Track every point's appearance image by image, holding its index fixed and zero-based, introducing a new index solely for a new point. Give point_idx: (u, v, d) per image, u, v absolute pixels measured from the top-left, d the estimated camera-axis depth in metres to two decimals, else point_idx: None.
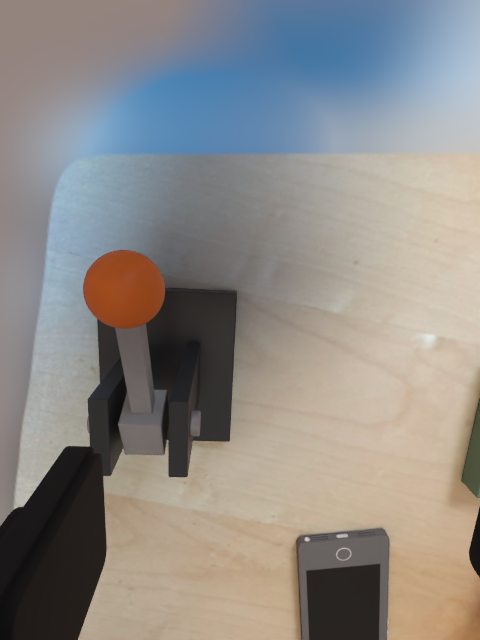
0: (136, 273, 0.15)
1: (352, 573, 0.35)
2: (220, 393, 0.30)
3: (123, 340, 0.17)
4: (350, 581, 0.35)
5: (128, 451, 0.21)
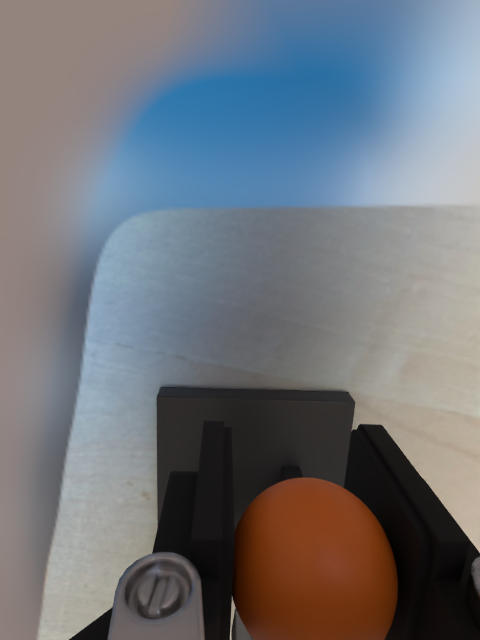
0: (372, 583, 0.06)
1: None
2: None
3: None
4: None
5: None
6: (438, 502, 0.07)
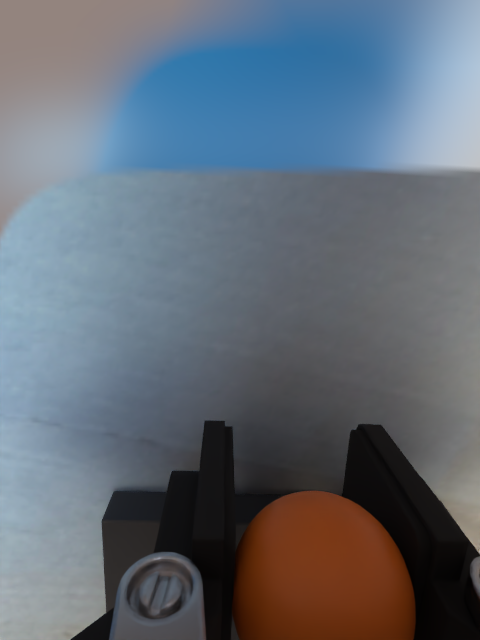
0: (367, 521, 0.07)
1: None
2: None
3: None
4: None
5: None
6: (437, 502, 0.07)
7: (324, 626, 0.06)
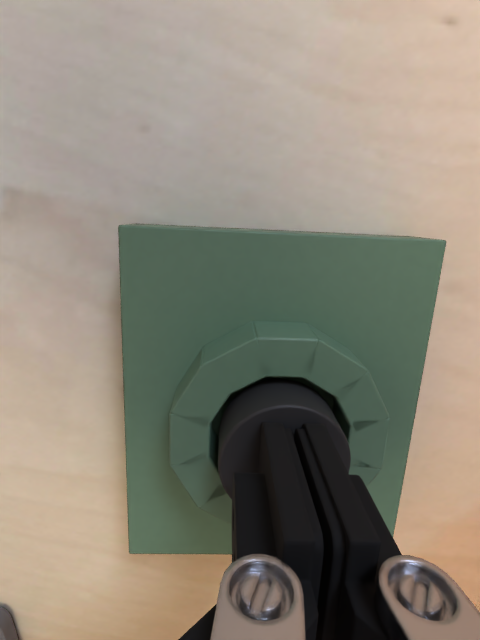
0: None
1: None
2: None
3: None
4: None
5: None
6: (360, 502, 0.07)
7: None
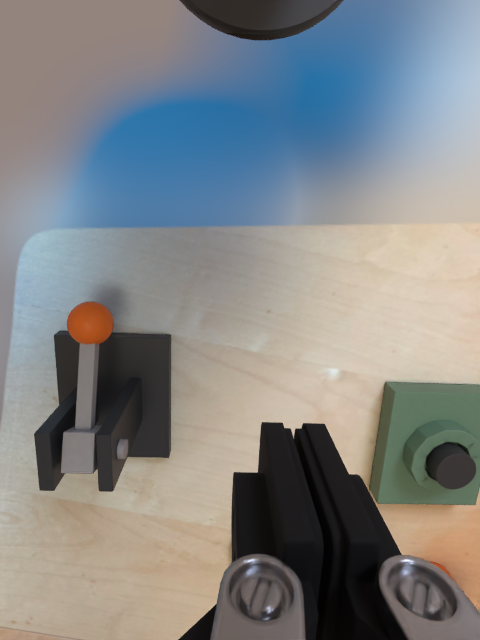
0: (98, 306, 0.28)
1: None
2: (159, 418, 0.36)
3: (82, 356, 0.28)
4: None
5: (64, 468, 0.27)
6: (360, 502, 0.07)
7: (79, 321, 0.27)
